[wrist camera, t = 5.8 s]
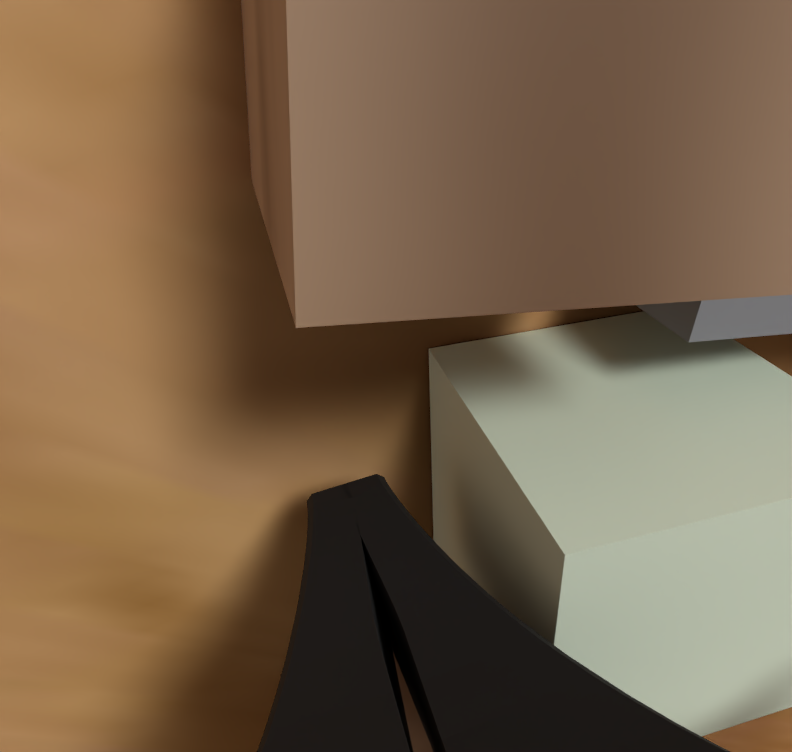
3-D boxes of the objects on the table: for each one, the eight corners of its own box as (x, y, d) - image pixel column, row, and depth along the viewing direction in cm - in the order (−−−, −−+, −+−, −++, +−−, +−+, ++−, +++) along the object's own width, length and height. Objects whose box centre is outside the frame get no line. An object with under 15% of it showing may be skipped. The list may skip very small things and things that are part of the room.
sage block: (679, 305, 12) (928, 463, 8) (640, 502, 15) (813, 699, 11) (429, 348, 11) (564, 555, 7) (433, 552, 14) (536, 790, 10)
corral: (987, 198, 13) (1176, 246, 10) (805, 559, 18) (904, 650, 15) (590, 207, 11) (710, 272, 8) (508, 617, 16) (567, 734, 13)
